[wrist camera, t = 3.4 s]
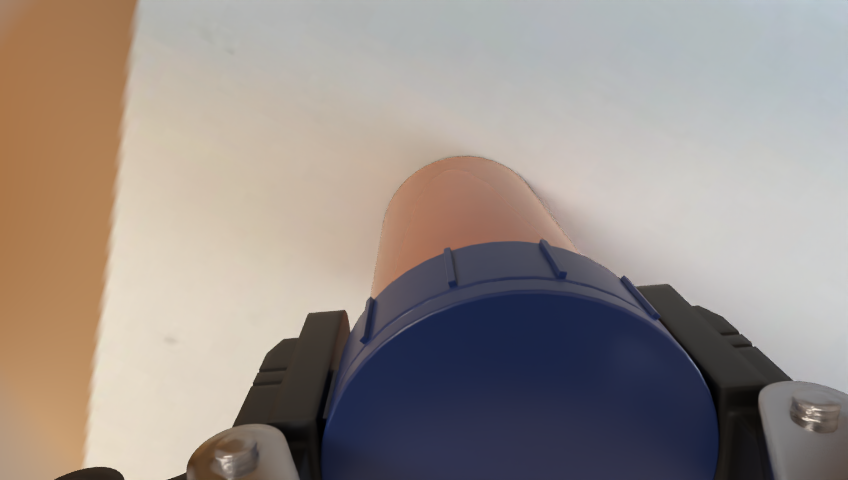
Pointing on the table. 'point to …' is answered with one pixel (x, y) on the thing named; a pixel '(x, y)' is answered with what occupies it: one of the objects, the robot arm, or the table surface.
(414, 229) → the jar
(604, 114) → the table surface
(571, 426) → the lid
